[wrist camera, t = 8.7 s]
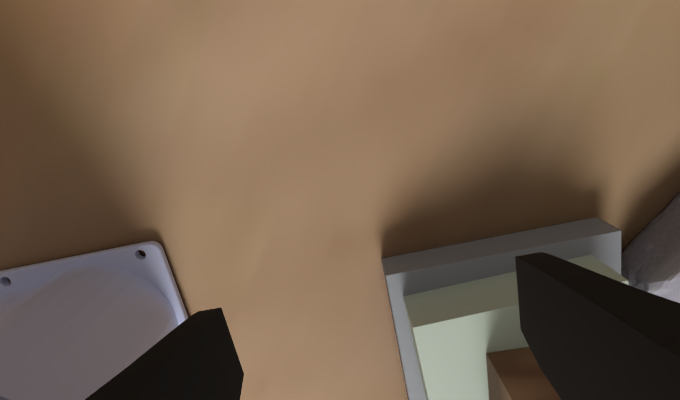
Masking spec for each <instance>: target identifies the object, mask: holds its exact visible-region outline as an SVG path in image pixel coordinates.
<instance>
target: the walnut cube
mask: <svg viewBox="0 0 680 400" xmlns="http://www.w3.org/2000/svg"><path fill="white" fill-rule="evenodd" d="M486 360H487V375H488V390H489V400H561V398H560V397H559V395H558V394H557V392H556V391H555V389H554V388H553V386H552V385H551V383H550V382H549V380H548V379H547V378H546V376H545V374H544V373H543V371H542V370H541V368H540V367H539V365H538V363H537V361H536V359H535V357H534V355H533V353H532V351H531V350H530V347H523V348H517V349H510V350H504V351H497V352H490V353H486Z"/></svg>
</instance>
